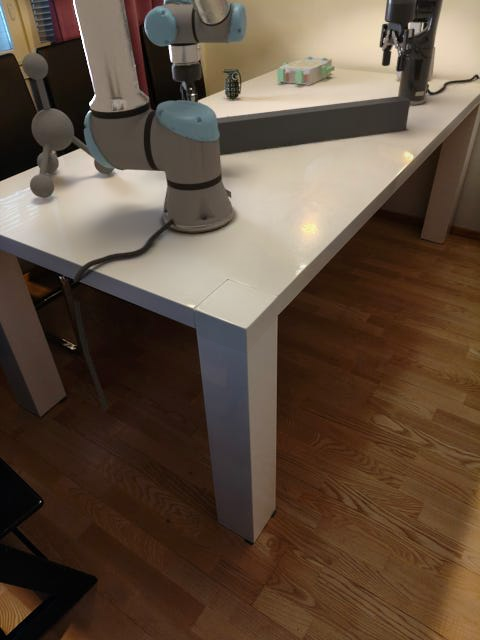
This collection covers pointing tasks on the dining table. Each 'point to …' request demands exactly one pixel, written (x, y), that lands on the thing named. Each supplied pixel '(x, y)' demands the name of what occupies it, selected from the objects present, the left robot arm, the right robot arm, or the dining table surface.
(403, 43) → the right robot arm
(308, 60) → the decorative block
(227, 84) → the grenade
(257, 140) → the bar
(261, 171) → the dining table surface
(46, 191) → the molecular model
